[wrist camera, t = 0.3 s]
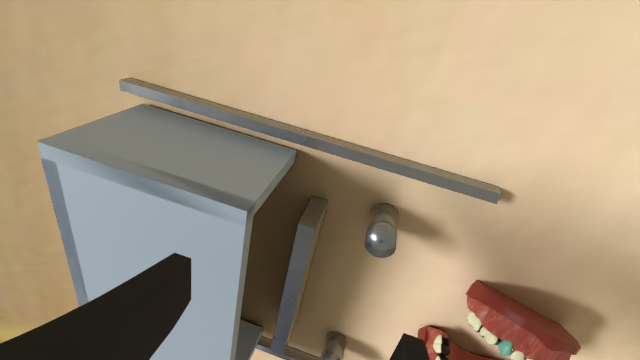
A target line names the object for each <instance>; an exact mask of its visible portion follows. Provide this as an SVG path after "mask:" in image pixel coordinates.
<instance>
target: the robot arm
mask: <svg viewBox="0 0 640 360" xmlns="http://www.w3.org/2000/svg"><path fill="white" fill-rule="evenodd" d="M190 301H191V258H189V257H186V256H183V255H180V254H177V253H173V254H171V255H170V256H168V257H166V258H165V259H163V260H161V261H159V262H158V263H156V264H154V265H153V266H151V267H149V268H148V269H146V270H144V271H143V272H141V273H139V274H138V275H136V276H134V277H133V278H131V279H129V280H127V281H126V282H124V283H122V284H120V285H119V286H117V287H115V288H113V289H111V290H110V291H108V292H106V293H104V294H103V295H101V296H99V297H97V298H95V299H93V300H91V301H89V302H88V303H86V304H84V305H82V306H80V307H78V308H76V309H74V310H72V311H70V312H68V313H66V314H64V315H62V316H60V317H58V318H56V319H54V320H52V321H50V322H48V323H46V324H44V325H42V326H39V327H37V328H35V329H33V330H31V331H28V332H26V333H24V334H22V335H19V336H17V337H15V338H12V339H10V340H8V341H5V342H3V343H0V360H149V359H150V358H151V357H152V356H153V354H154V353H155V352H156V350H157V349H158V348H159V347H160V345H161V344H162V343H163V341H164V340H165V339H166V337H167V336H168V335H169V334H170V332H171V331H172V330H173V328H174V327H175V325H176V324H177V322H178V320H179V319H180V317H181V316H182V314H183V312H184V311H185V309H186V307H187V306H188V304H189V302H190ZM390 360H430V358H429V355H428V351H427V347H426V344H425V342H424V340H422V339H419V338H416V337H413V336H410V335H407V334H405V333H404V334H403V336H402V338H401V339H400V341H399V343H398V345H397V347H396V349H395V351H394V352H393V354H392V356H391V358H390Z"/></svg>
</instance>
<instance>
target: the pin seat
mask: <svg viewBox="0 0 640 360" xmlns="http://www.w3.org/2000/svg"><path fill="white" fill-rule="evenodd" d="M119 84H120V90H121V91H125V92H128V93H131V94H134V95H138V96H141V97H144V98H148V99H151V100H154V101H158V102H161V103H164V104H168V105H171V106H174V107H177V108H181V109H184V110H187V111H191V112H194V113H197V114H201V115H204V116H207V117H211V118H214V119H217V120H220V121H224V122H227V123H230V124H234V125H237V126H240V127H244V128H247V129H250V130H254V131H257V132H260V133H263V134H267V135H270V136H273V137H277V138H280V139H283V140H287V141H290V142H293V143H297V144H300V145H303V146H306V147H310V148H313V149H316V150H320V151H323V152H326V153H330V154H333V155H336V156H340V157H343V158H346V159H349V160H353V161H356V162H359V163H363V164H366V165H369V166H373V167H376V168H379V169H383V170H386V171H389V172H392V173H396V174H399V175H402V176H406V177H409V178H412V179H416V180H419V181H422V182H426V183H429V184H432V185H435V186H439V187H442V188H445V189H449V190H452V191H455V192H459V193H462V194H465V195H469V196H472V197H475V198H479V199H482V200H485V201H488V202H492V203H495V204H497V202H498V200H499V199H500V197H501V195H502V193H501V191H500V189H499V187H497V186H494V185H490V184H487V183H484V182H480V181H477V180H473V179H470V178H467V177H463V176H460V175H457V174H453V173H450V172H446V171H443V170H440V169H436V168H433V167H430V166H426V165H423V164H419V163H416V162H413V161H409V160H406V159H403V158H399V157H396V156H392V155H389V154H386V153H382V152H379V151H376V150H372V149H369V148H365V147H362V146H359V145H355V144H352V143H349V142H345V141H342V140H338V139H335V138H332V137H328V136H325V135H322V134H318V133H315V132H311V131H308V130H305V129H301V128H298V127H295V126H291V125H288V124H284V123H281V122H278V121H274V120H271V119H268V118H264V117H261V116H257V115H254V114H251V113H247V112H244V111H241V110H237V109H234V108H230V107H227V106H224V105H220V104H217V103H214V102H210V101H207V100H203V99H200V98H197V97H193V96H190V95H187V94H183V93H180V92H176V91H173V90H170V89H166V88H163V87H160V86H156V85H153V84H149V83H146V82H143V81H139V80H136V79H133V78H125V79H121V80H119ZM327 203H328V201H327V200H324V199H321V198H318V197H315V196H312V198H311V200H310V202H309V204H308V206H307V208H306V210H305V212H304V213H303V215H302V217H301V219H300V221H299V223H298V227H297V232H296V236H295V241H294V245H293V250H292V254H291V259H290V263H289V268H288V272H287V277H286V281H285V286H284V290H283V295H282V299H281V304H280V309H279V313H278V318H277V322H276V327H275V331H274V336H273V340H270V339H267V338H264V337H262V336H261V337H260V339H259V341H258V343H257V345H256V347H255V348H256V349H259V350H262V351H264V352H267V353H269V354H272V355H275V356H277V357H280V358H283V359H285V360H343V355H344V350H345V345H346V338H345V337H344V336H343V335H342V334H340V333H338V332H330V333H328V334H327V337H326V340H325V344H324V348H323V352H322V356H321V359H320V358H317V357H315V356H312V355H309V354H307V353H304V352H301V351H299V350H296V349H294V348H291V347H288V346H287V344H288V341H289V338H290V335H291V333H292V330H293V327H294V325H295V322H296V318H297V315H298V311H299V307H300V303H301V300H302V296H303V292H304V289H305V285H306V281H307V277H308V274H309V270H310V266H311V262H312V259H313V255H314V251H315V248H316V244H317V240H318V236H319V233H320V229H321V225H322V221H323V218H324V214H325V210H326V207H327ZM397 223H398V212H397V210H396V208H395V207H394V206H392V205H390V204H387V203H380V204H377V205H375V206H374V207H373V208H372V211H371V215H370V220H369V225H368V230H367V235H366V240H365V247H366V250H367V251H368V252H369V253H370V254H371V255H373V256H375V257H379V258H385V257H389V256H391V255H392V254H393V253H394V252H395V250H396V239H397Z"/></svg>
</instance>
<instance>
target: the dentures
mask: <svg viewBox="0 0 640 360" xmlns="http://www.w3.org/2000/svg"><path fill="white" fill-rule="evenodd" d="M466 294H467V295H468V297H467V305H468V308H469V309H470V310H471V311H469V312H468V314H467V317H466V319H467V321H468V324H469V325H470V326H472V327H473V329H474V331H476V332H480V335H481V336H482V337H484V339H485V341H486V342H487V343H488V344H491V345H498V348H499V350H500V352H501V354H502V355H504V356H508V355H510V354H511V355H510V358H511V359H512V360H569V359H570V357H571V355H576V354H577V353H578V351H579V350H580V349H581V346H580V345H579V343H578V342H577V340H576V339H575V338H574V337H573V336H572V335H571V334H570V333H569V332H568V331H566V330H565V329H564V328H563V327H562V326H561V325H559V324H557V323H555V322H553V321H551V320H550V319H548V318H546V317H544V316H542V315H540V314H539V313H537V312H535V311H533V310H531V309H530V308H528V307H526V306H524V305H522V304H520V303H519V302H517V301H515V300H513V299H511V298H509V297H508V296H506V295H504V294H502V293H500V292H499V291H497V290H495V289H493V288H491V287H489V286H488V285H486V284H484V283H482V282H480V281H478V280H476V281H475V282H474V283H473V284H472V285H471V287H470V288H469V290H468V291H467V293H466ZM418 338H419V339H422V340H424V342H425V344H426V347H427V351H428V355H429V358H430V360H494V359H490V358H486V357H482V356H479V355H476V354H473V353H470V352H468V351H466V350H464V349H462V348H460V347H458V346H457V345H455V344H454V343H453V342H451V341H450V340H449V338H448V334H447V333H445V332H443V331H442V330H439V329H436V328H432V327H429V326H426V327H423V328H420V329H419V331H418ZM512 349H513V351H512ZM511 352H512V353H511ZM524 357H525V358H524Z"/></svg>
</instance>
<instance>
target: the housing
mask: <svg viewBox="0 0 640 360" xmlns="http://www.w3.org/2000/svg"><path fill="white" fill-rule="evenodd" d="M37 145H38V149H39V153H40V156H41V160H42V164H43V168H44V172H45V176H46V180H47V183H48V187H49V191H50V195H51V199H52V203H53V207H54V210H55V214H56V218H57V222H58V226H59V230H60V233H61V237H62V241H63V245H64V249H65V253H66V257H67V260H68V264H69V268H70V272H71V276H72V280H73V284H74V287H75V291H76V295H77V299H78V303H79V307H80V306H82V305H84V304H86V303H88V302H89V301H91V300H93V299H95V298H97V297H99V296H101V295H103V294H104V293H106V292H108V291H110V290H111V289H113V288H115V287H117V286H119V285H120V284H122V283H124V282H126V281H127V280H129V279H131V278H133V277H134V276H136V275H138V274H139V273H141V272H143V271H144V270H146V269H148V268H149V267H151V266H153V265H154V264H156V263H158V262H159V261H161V260H163V259H165V258H166V257H168V256H170V255H171V254H173V253H177V254H180V255H183V256H186V257H189V258H191V301H190V302H189V304H188V306H187V307H186V309H185V311H184V312H183V314H182V316H181V317H180V319H179V320H178V322H177V324H176V325H175V327H174V328H173V330H172V331H171V332H170V334H169V335H168V336H167V337H166V339H165V340H164V341H163V343H162V344H161V345H160V347H159V348H158V349H157V350H156V352H155V353H154V354H153V356H152V357H151V358H150V359H149V360H250V358H251V356H252V354H253V352H254V350H255V347H256V345H257V343H258V341H259V339H260V337H261V334H262V330H263V328H262V327H259V326H256V325H254V324H251V323H248V322H246V321H243V320H240V316H241V308H242V300H243V293H244V285H245V277H246V270H247V262H248V254H249V246H250V239H251V231H252V223H253V216H254V215H255V213H256V212H257V211H258V209H259V208H260V207H261V206H262V204H263V203H264V202H265V200H266V199H267V198H268V196H269V195H270V194H271V192H272V191H273V190H274V188H275V187H276V186H277V185H278V183H279V182H280V181H281V179H282V178H283V177H284V175H285V174H286V173H287V171H288V170H289V169H290V167H291V166H292V165H293V164H294V162H295V157H296V151H297V150H294V149H291V148H287V147H284V146H281V145H278V144H274V143H271V142H268V141H264V140H261V139H258V138H255V137H251V136H248V135H245V134H241V133H238V132H235V131H232V130H228V129H225V128H222V127H218V126H215V125H212V124H209V123H205V122H202V121H199V120H195V119H192V118H189V117H186V116H182V115H179V114H176V113H172V112H169V111H166V110H163V109H159V108H156V107H153V106H150V105H146V104H141V105H138V106H135V107H132V108H129V109H127V110H124V111H121V112H118V113H115V114H112V115H110V116H107V117H104V118H101V119H98V120H96V121H93V122H90V123H87V124H84V125H81V126H79V127H76V128H73V129H70V130H67V131H65V132H62V133H59V134H56V135H53V136H50V137H48V138H45V139H42V140H39V141H37Z"/></svg>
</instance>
